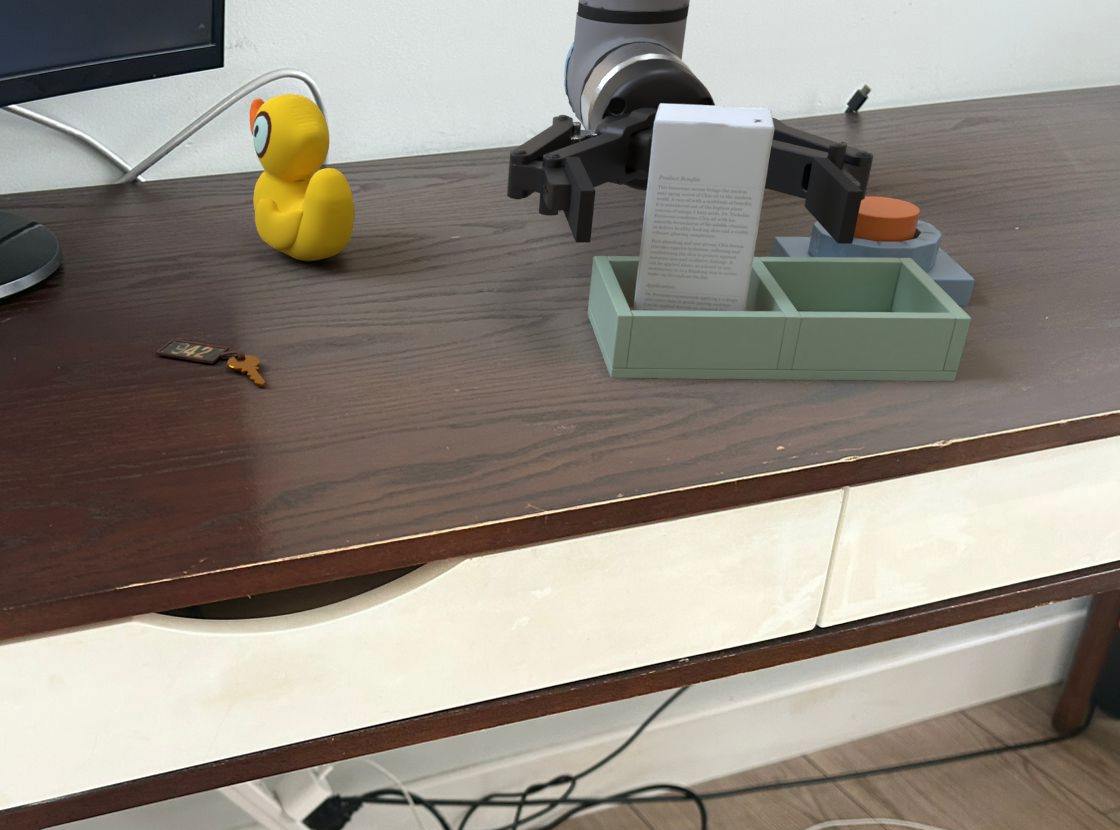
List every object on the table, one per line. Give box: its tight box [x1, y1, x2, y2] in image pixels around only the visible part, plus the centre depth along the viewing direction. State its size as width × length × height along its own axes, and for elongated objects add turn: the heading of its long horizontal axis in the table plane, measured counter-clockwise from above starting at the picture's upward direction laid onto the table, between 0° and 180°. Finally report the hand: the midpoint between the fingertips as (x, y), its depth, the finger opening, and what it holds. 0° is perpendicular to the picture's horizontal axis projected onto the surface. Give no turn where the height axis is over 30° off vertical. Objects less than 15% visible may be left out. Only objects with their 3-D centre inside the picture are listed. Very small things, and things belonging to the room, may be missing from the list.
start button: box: [854, 196, 921, 242], centre depth 84 cm, size 4×4×2 cm
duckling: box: [249, 93, 356, 262], centre depth 89 cm, size 11×5×10 cm, turn 29°
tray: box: [587, 255, 972, 382], centre depth 77 cm, size 18×10×4 cm, turn 88°
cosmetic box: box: [633, 103, 775, 311], centre depth 74 cm, size 6×4×12 cm
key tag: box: [155, 338, 266, 387], centre depth 76 cm, size 8×3×1 cm, turn 53°
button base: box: [770, 219, 976, 307], centre depth 85 cm, size 10×8×4 cm
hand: (717, 217), depth 71 cm, fingers open, 13 cm apart
